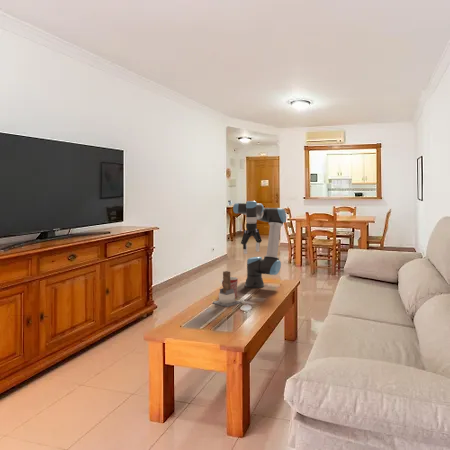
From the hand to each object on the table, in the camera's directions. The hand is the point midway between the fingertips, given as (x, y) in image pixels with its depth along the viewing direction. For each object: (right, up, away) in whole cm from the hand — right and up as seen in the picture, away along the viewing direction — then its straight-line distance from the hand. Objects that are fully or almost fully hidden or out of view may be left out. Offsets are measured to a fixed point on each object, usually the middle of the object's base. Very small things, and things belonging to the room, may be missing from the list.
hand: (251, 252), depth 300 cm
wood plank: (-18, -27, -11) cm, 34 cm away
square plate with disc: (-18, -34, -10) cm, 40 cm away
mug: (-15, -33, +8) cm, 37 cm away
